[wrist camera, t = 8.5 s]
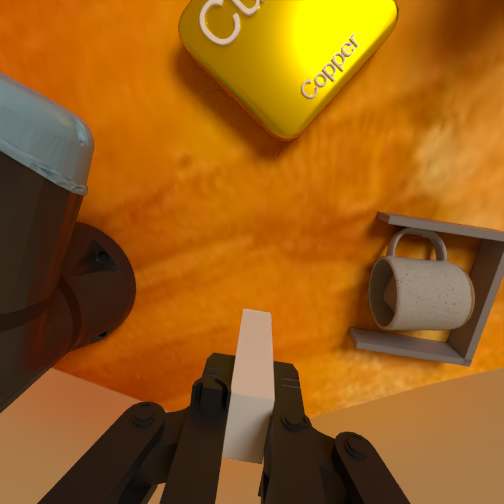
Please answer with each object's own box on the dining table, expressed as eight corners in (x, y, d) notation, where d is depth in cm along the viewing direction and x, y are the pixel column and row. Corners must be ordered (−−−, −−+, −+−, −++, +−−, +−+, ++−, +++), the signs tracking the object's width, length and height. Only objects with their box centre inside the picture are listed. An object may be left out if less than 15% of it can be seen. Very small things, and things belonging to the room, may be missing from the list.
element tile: (285, 151, 34) (287, 147, 29) (180, 48, 32) (165, 27, 28) (391, 33, 31) (413, 9, 26) (281, -89, 29) (284, -139, 24)
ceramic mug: (434, 313, 37) (475, 347, 30) (364, 310, 38) (388, 343, 30) (448, 225, 35) (498, 237, 27) (374, 223, 35) (402, 235, 28)
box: (348, 332, 38) (355, 348, 35) (378, 211, 35) (390, 215, 31) (451, 349, 38) (469, 366, 35) (493, 229, 34) (518, 235, 31)
